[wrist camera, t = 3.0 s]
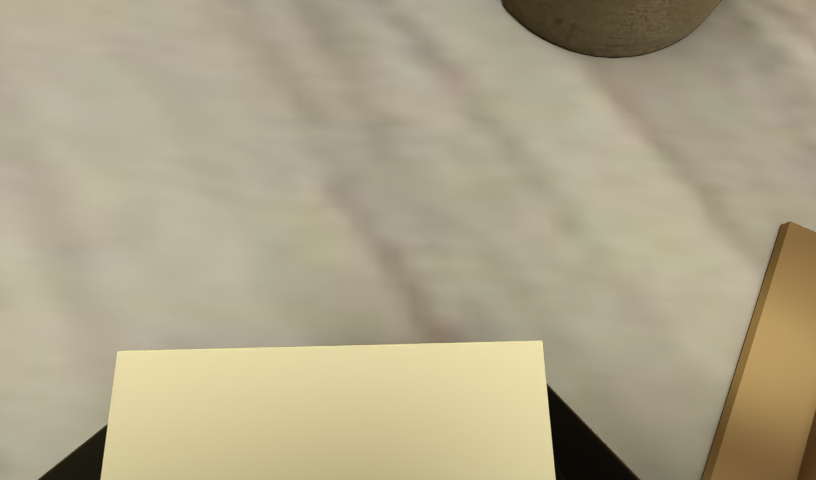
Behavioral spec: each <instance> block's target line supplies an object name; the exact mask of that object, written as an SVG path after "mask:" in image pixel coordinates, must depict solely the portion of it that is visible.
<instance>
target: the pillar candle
mask: <svg viewBox="0 0 816 480" xmlns="http://www.w3.org/2000/svg"><path fill="white" fill-rule="evenodd" d="M720 1H721V0H502V2H503V4H504V6H506V8H507V9H508V10H509V11H510V12H511V13H512V14H513V15H514V16H515V17H516V18H517V19H518V20H519V21H521V22H522V23H523V24H524V25H525V26H526V27H528V28H529V29H530V30H532V31H533V32H535V33H536V34H538V35H539V36H541V37H543V38H545V39H547V40H549V41H550V42H552V43H554V44H555V43H556V44H558V45H560V46H564V47H566V48H568V49H569V50H572V51H575V52H580V53H583V54H587V55H593V56H603V57H604V56H607V57H621V56H628V57H629V56H636V55H641V54H645V53H650V52H653V51H656V50H659V49H663V48H665V47H667V46H669V45H671V44H674V43H675V42H677V41H679V40H680V39H682V38H684V37H685V36H687V35H688V34H689V33H691V32H692V31H693V30H694V29H695V28H697V27H698V26H699V25H700V24H701V23H702V22H703V21H704V20H705V19H706V18H707V17H708V16H709V15H710V14H711V12H712V11H713V10H714V9H715V7H716V6H717V5H718V4H719V2H720Z"/></svg>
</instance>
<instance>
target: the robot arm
mask: <svg viewBox="0 0 816 480" xmlns="http://www.w3.org/2000/svg"><path fill="white" fill-rule="evenodd" d="M546 385H547V395H548V405H549V416H550V426H551V436H552V447H553V457H554V467H555V478H556V480H640V479H639V478H638V477H637V476H636V475H635V474H634V473H633V472H632V471H631V470H630V469H629V468H628V467H627V466H626V465H625V464H624V462H623V461H622V460H621V459H620V458H619V457H618V456H617V455H616V454H615V453H614V452H613V451H612V450H611V449H610V448H609V447H608V446H607V445H606V444H605V443H604V442H603V441H602V440H601V439H600V438H599V437H598V436H597V435H596V434H595V433H594V432H593V431H592V430H591V429H590V428H589V427H588V425H587V424H586V423H585V422H584V421H583V420H582V419H581V418H580V417H579V416H578V415H577V414H576V413H575V412H574V411H573V410H572V409H571V408H570V407H569V406H568V405H567V404H566V403H565V402H564V401H563V400H562V399H561V398H560V397H559V396H558V395H557V394H556V393H555V392H554V391H553V389H552V388H551V387H550V386H549V385H548V384H547V383H546ZM107 427H108V424H107V425H106V426H105V427H103V428H102V429H101V430H100V431H98V432H97V433H96V434H94V435H93V436H92V437H91V438H89V439H88V440H87V441H86V442H84V443H83V444H82V445H81V446H79V447H78V448H77V449H76V450H74V451H73V452H72V453H71V454H69V455H68V456H67V457H66V458H64V459H63V460H62V461H61V462H59V463H58V464H57V465H56V466H54V467H53V468H52V469H51V470H49V471H48V472H47V473H46V474H44V475H43V476H42V477H41V478H39V479H38V480H100V479H101V472H102V464H103V457H104V449H105V442H106V434H107Z"/></svg>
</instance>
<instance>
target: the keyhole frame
mask: <svg viewBox="0 0 816 480" xmlns="http://www.w3.org/2000/svg"><path fill="white" fill-rule="evenodd" d="M702 480H816V232H814V231H811V230H809V229H807V228H804V227H802V226H800V225H797V224H795V223H793V222H791V221H790V222H787V223H785V224H782V225H781V228H780V231H779V234H778V237H777V241H776V244H775V247H774V250H773V253H772V257H771V260H770V263H769V266H768V269H767V273H766V276H765V279H764V282H763V285H762V289H761V292H760V295H759V298H758V301H757V305H756V308H755V311H754V314H753V317H752V321H751V324H750V327H749V330H748V333H747V337H746V340H745V343H744V346H743V349H742V353H741V356H740V359H739V362H738V365H737V369H736V372H735V375H734V378H733V381H732V385H731V388H730V391H729V394H728V397H727V401H726V404H725V407H724V410H723V413H722V417H721V420H720V423H719V426H718V429H717V433H716V436H715V439H714V442H713V445H712V449H711V452H710V455H709V458H708V461H707V465H706V468H705V471H704V474H703V477H702Z"/></svg>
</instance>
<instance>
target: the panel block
mask: <svg viewBox="0 0 816 480" xmlns="http://www.w3.org/2000/svg"><path fill="white" fill-rule="evenodd" d="M100 480H556V478H555V467H554V457H553V447H552V436H551V426H550V416H549V405H548V395H547V385H546V374H545V364H544V354H543V343H542V341H510V342H470V343H429V344H388V345H347V346H307V347H266V348H225V349H184V350H144V351H118V352H117V359H116V367H115V374H114V382H113V389H112V397H111V404H110V412H109V419H108V427H107V434H106V442H105V449H104V457H103V464H102V472H101V479H100Z"/></svg>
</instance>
